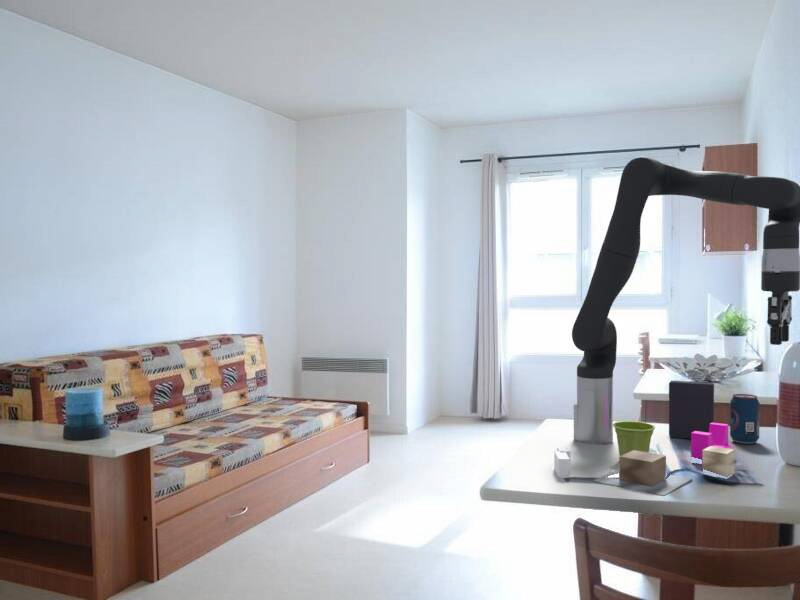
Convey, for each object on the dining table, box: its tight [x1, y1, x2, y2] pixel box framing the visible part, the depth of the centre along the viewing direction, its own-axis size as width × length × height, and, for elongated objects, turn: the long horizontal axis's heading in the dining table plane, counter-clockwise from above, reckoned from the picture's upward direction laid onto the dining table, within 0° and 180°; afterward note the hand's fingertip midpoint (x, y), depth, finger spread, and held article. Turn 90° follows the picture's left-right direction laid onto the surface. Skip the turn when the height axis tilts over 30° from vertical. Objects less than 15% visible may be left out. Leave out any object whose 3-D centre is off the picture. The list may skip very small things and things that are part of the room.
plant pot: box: [613, 420, 656, 456], centre depth 164 cm, size 9×9×9 cm
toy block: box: [690, 422, 734, 460], centre depth 166 cm, size 15×6×8 cm, turn 139°
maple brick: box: [701, 446, 735, 477], centre depth 152 cm, size 5×5×6 cm
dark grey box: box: [668, 380, 715, 440], centre depth 189 cm, size 11×4×15 cm, turn 63°
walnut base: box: [592, 450, 693, 497], centre depth 147 cm, size 15×15×6 cm
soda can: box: [729, 393, 761, 444], centre depth 184 cm, size 7×7×12 cm
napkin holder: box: [553, 445, 571, 479], centre depth 155 cm, size 15×11×6 cm
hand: (779, 342), depth 155 cm, fingers open, 8 cm apart
